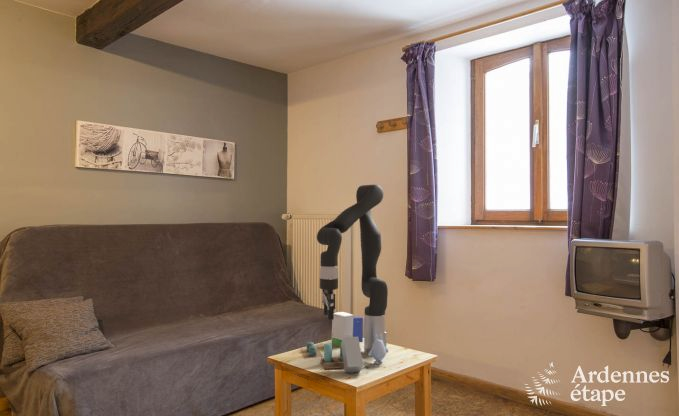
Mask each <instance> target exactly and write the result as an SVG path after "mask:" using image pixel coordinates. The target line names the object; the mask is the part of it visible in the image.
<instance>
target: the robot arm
mask: <svg viewBox="0 0 679 416" xmlns="http://www.w3.org/2000/svg"><path fill="white" fill-rule="evenodd" d="M355 194H356V195H355V199H356V203H354V204H352V205H350V206H349V207H347V208H346V209H344V210H343V211H342V212H340V214H338V215H337V216H336V217H335V218H334V219H333V220H332V221H329V222H328V223H326V224H325V225H323V226H322V227H321V228H320V229H319V230H318V231H317V234H316V239H317V242H318V243H319V244H320V245H322V246H327V248H326V250H325V251H322V252H321V253H320V261H319V262H320V264H319V265H320V267H319V289H320V290H321V292H322V299H321V300H322V301H321V303H322V305H323V315H324V316H327V320H330V321H332V320H333V319H334V313H335V312H334V311H335V310H336V294H335V293H334V290H337V289H339V269H338V267H339V266H338V264H339V263H338V261H339V259H338V258H339V257H338V256H339V253H340V249H341V245H342V241H343V235H342V234H344V233H346V232H347V231H348V230H349V229H350V228H351V227H352V226H353V225H354V224H355V223H356V222H357V221H358V220H359V232H360V250H361V282H360V283H361V291H362V294H363V295H364V296H365V297H366V298H367V299H368V298H369V305H367V306H365V307H364V317H363V331H364V332H363V336H364V337H363V338H364V339H363V341H364V342H363V343H364V344H363V347H364V348H363V349H364V350H363V352H364V354H365V355H368V354H369V352H370V351H371V349H372V346H373V343H374V342H375V336H376V335H377V336H378V339H379V337H380V334H382V339H381V340H382V342H383V344H384V346H385V347H386V348H387V332H386V309H387V308H388V295H389V294H388V291H389V290H388V285H387V282H386V281H385V280H383V279H381V278H378V275H377V264H378V260H379V257H380V255H381V253H382V252H381V251H382V237H381V235H382V234H381V232H380V229H379V227H378V226H377V224H376V222H375V221H374V219H373V216H372V212H371V211H372V209H373V208H375V207H376V206H378V205H379V204H380V203H382V201H383V198H384V190H383V188H382V187H381V186H380V185H378V184H364V185H359V187H357V189H356V193H355Z"/></svg>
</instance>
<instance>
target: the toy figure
mask: <svg viewBox="0 0 679 416" xmlns="http://www.w3.org/2000/svg"><path fill="white" fill-rule="evenodd" d="M381 339H382V334H380V337H379V339H378V336H377V335H376V336H375V342H374V343H373V346H372V349H371V351H370V352H369V354H367V355H368V357H371V356H372V358H373V359H374V360H375V361H373V364H374V365H378V364H382V363H383V360H384V358H385V357H386V355H387V354H388V353H389V349H388V347H387V346H386V347H385V346H384V344H383V342H382V340H381Z"/></svg>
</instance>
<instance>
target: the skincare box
mask: <svg viewBox="0 0 679 416" xmlns="http://www.w3.org/2000/svg"><path fill="white" fill-rule="evenodd" d="M354 315H355V314H352V313H349V312H346V311H345V312H344V311H338V312H334V319H333V320H331V343H330V344H332V346H333V345H334V346H335V347H336V346H337V347H340V343H341V342H342V340H343V338H344V337H353V317H355V316H354Z"/></svg>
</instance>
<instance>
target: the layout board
mask: <svg viewBox="0 0 679 416" xmlns="http://www.w3.org/2000/svg"><path fill="white" fill-rule="evenodd" d="M314 344H315V343H314V342H313V341H307V342H306V348H304V349H303V348H301V349H299V350H300V352H301V354H302V356H303V358H304V359H311V358H312V359H314V358H315V359H316V358H324V355H323V354H322V353H321V351H320V350H319V347H317V346H315V345H314Z"/></svg>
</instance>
